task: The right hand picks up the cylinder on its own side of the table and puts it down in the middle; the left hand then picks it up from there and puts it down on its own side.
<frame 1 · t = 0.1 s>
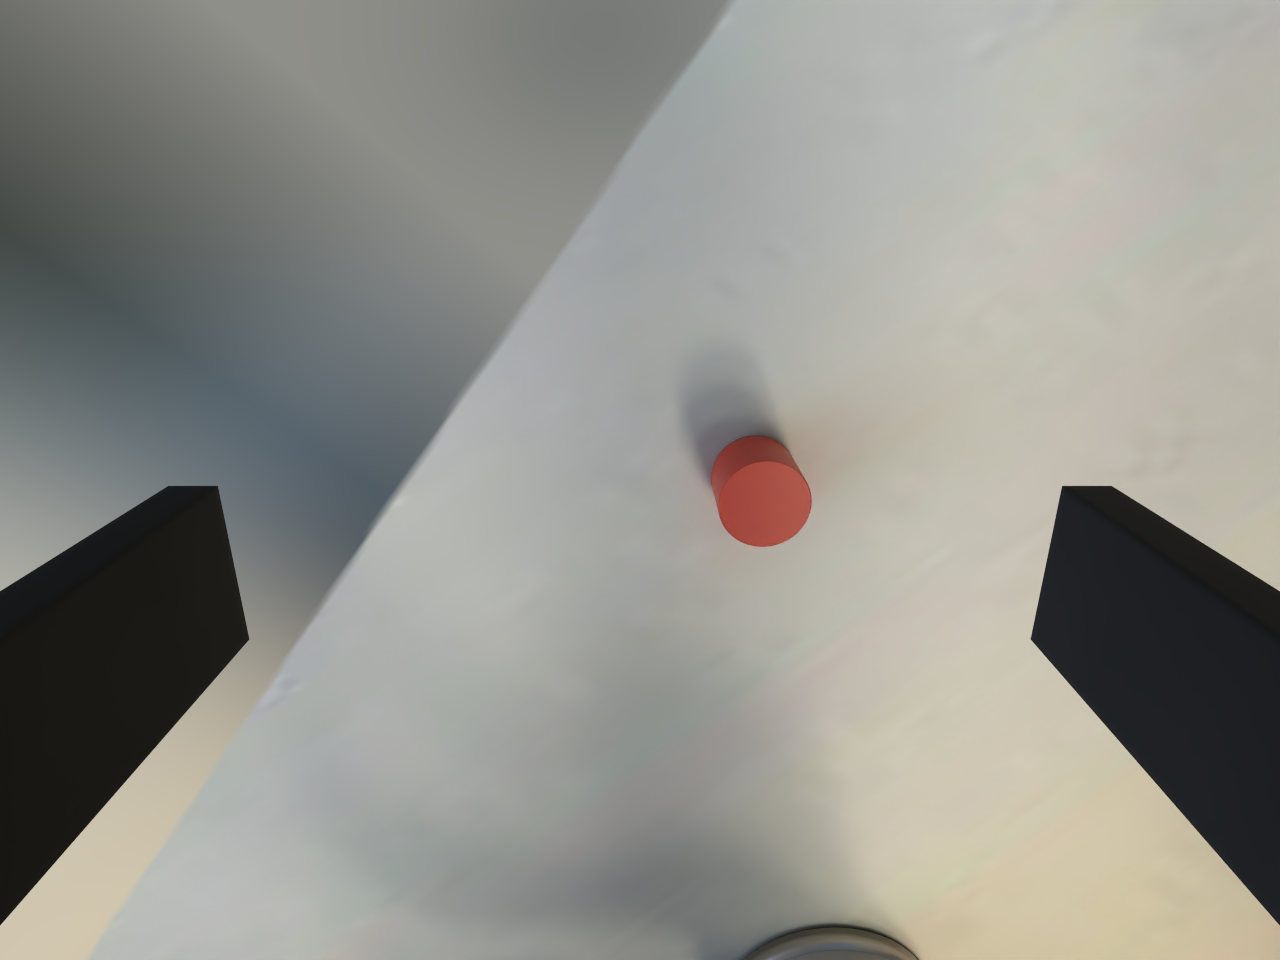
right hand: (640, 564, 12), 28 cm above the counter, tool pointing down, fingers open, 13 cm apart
cylinder: (753, 476, 42), on the counter
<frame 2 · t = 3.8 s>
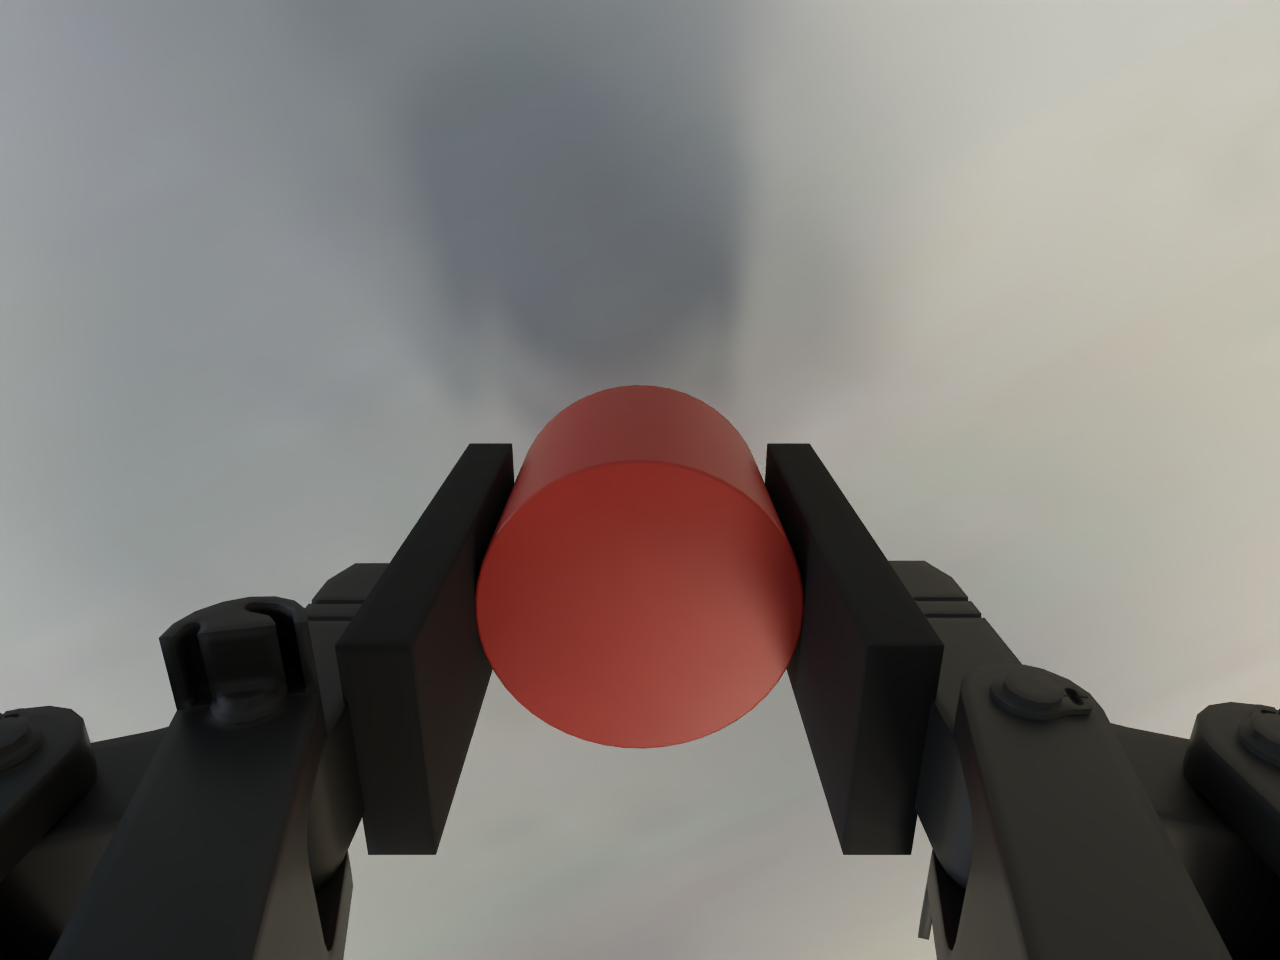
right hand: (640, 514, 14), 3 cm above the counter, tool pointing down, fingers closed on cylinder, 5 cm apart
cylinder: (639, 503, 14), point 3 cm above the counter, touching right hand
when the right hand's fingers open (0 cm above the counter, at t = 8.0 s): cylinder stays where it is, on the counter.
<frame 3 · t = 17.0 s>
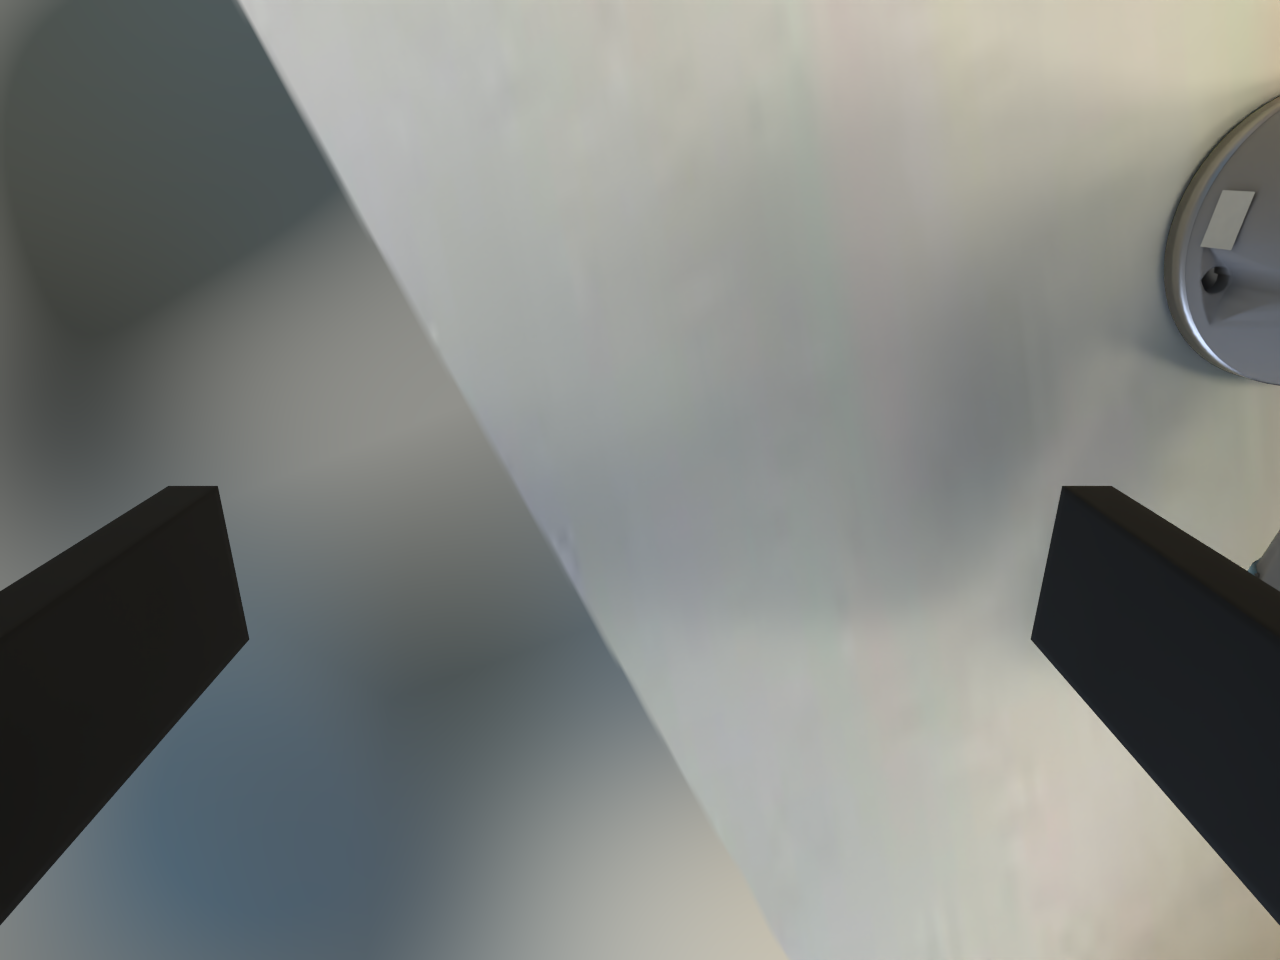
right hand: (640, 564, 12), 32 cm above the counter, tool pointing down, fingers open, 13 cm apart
when the left hand's fingers open (1 cm above the counter, at t = 23.6 s): cylinder stays where it is, on the counter.
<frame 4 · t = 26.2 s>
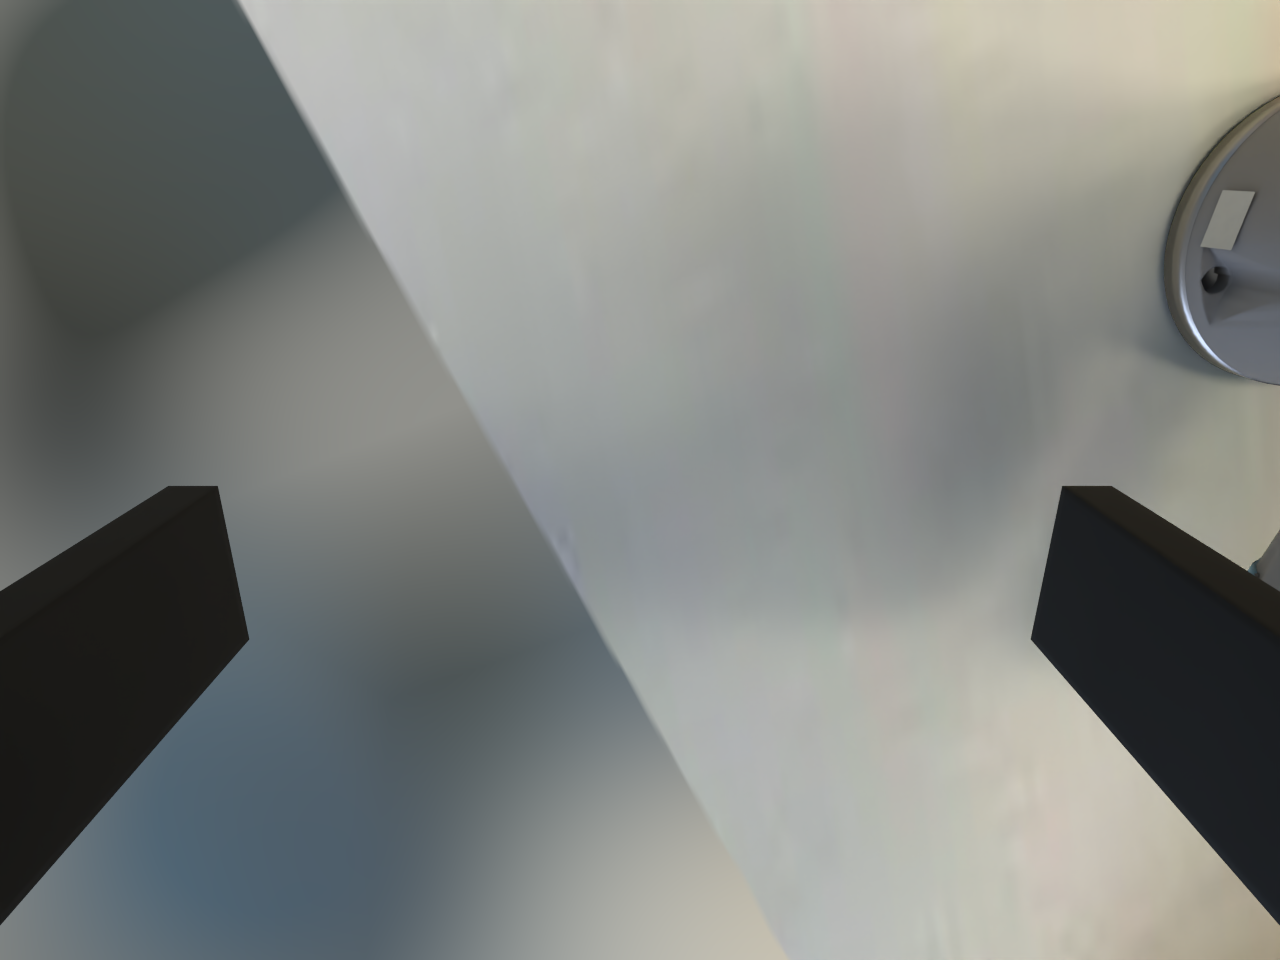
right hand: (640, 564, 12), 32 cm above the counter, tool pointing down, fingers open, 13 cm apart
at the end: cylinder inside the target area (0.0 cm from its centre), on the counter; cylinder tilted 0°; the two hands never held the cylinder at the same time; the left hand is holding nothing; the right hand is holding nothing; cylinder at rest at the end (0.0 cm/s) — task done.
